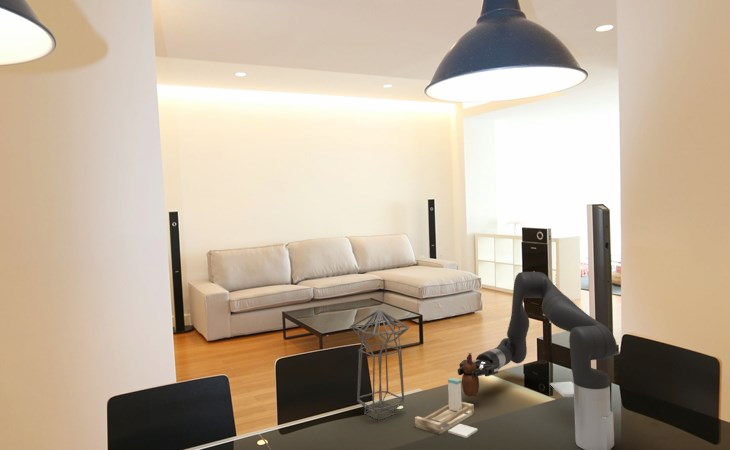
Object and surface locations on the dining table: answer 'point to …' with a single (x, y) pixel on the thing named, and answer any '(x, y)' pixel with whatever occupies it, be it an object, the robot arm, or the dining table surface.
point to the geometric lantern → (380, 358)
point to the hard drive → (564, 388)
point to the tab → (454, 394)
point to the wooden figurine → (470, 378)
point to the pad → (462, 430)
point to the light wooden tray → (444, 418)
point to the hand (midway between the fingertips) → (465, 373)
